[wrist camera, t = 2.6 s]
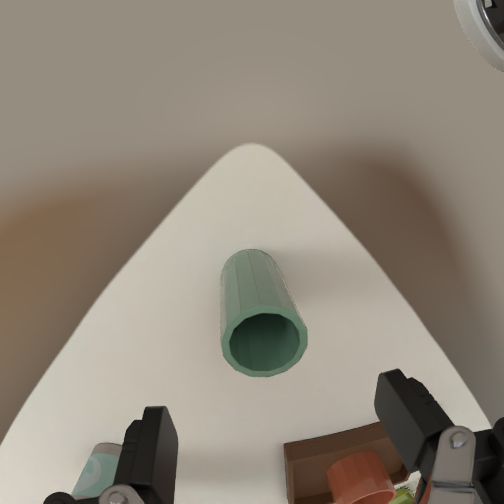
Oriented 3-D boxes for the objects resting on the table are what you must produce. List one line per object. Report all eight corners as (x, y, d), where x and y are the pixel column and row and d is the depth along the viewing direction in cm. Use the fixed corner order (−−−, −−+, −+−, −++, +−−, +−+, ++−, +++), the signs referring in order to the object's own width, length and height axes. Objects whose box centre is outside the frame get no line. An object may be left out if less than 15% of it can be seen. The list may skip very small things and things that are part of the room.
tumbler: (382, 441, 32) (402, 482, 25) (373, 470, 34) (389, 507, 27) (326, 456, 31) (341, 501, 25) (323, 483, 34) (335, 523, 27)
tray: (424, 406, 31) (433, 420, 28) (401, 468, 35) (407, 480, 32) (283, 443, 30) (287, 461, 27) (287, 498, 34) (290, 512, 32)
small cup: (276, 245, 23) (306, 299, 15) (280, 298, 24) (308, 370, 16) (217, 252, 23) (215, 311, 14) (225, 306, 24) (228, 382, 16)
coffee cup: (106, 425, 27) (78, 516, 16) (166, 464, 30) (158, 550, 18) (72, 447, 29) (45, 523, 17) (126, 481, 31) (113, 555, 20)
